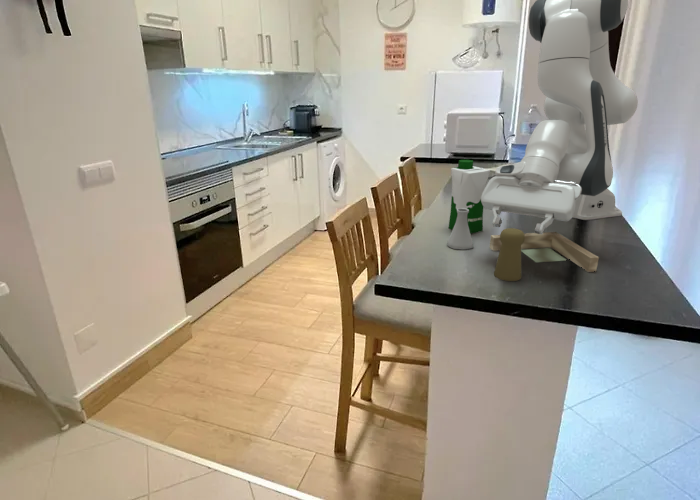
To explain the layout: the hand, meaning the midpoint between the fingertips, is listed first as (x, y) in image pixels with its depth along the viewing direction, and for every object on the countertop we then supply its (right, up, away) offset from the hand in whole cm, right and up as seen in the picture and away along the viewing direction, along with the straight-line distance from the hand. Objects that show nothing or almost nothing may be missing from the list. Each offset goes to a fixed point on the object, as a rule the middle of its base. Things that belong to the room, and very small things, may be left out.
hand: (516, 229), depth 100 cm
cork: (-1, -11, +2) cm, 11 cm away
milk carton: (-3, +1, +32) cm, 32 cm away
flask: (-8, -4, +20) cm, 22 cm away
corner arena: (+10, -7, +11) cm, 16 cm away
